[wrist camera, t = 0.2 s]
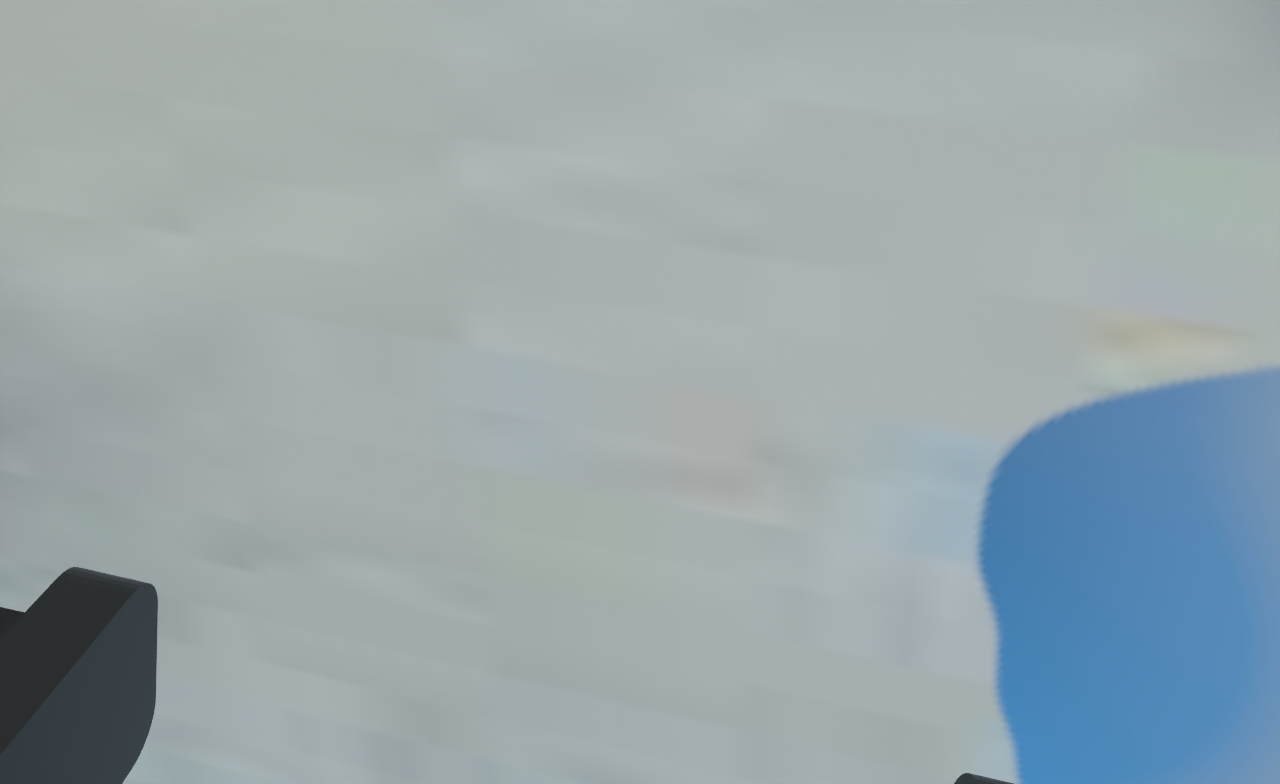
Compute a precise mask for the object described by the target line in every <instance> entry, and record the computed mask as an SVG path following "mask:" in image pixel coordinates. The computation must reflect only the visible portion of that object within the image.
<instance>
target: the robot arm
mask: <svg viewBox="0 0 1280 784" xmlns="http://www.w3.org/2000/svg"><path fill="white" fill-rule="evenodd" d="M157 612H158V599H157V592H156V590H155V587H154V586H153V585H151V584H149V583H145V582H140V581H136V580H132V579H127V578H123V577H118V576H114V575H110V574H105V573H101V572H96V571H92V570H88V569H83V568H79V567H73V568H70V569H68V570H66V571H65V572H63V573H62V574H61V575H60V576H59V577H58V578H57V579H56V580H55V581H54V582H53V583H52V584H51V585H50V586H49V587H48V589H47V590H46V591H45V592H44V593H43V594H42V595H41V596H40V597H39V598H38V599H37V600H36V601H35V602H34V603H33V604H32V606H31V607H30V608H29V609H28V610H27V611H26V612H25V613H24V612H20V611H15V610H11V609H6V608H2V607H0V784H122V783H123V781H124V780H125V778H126V777H127V775H128V774H129V772H130V771H131V769H132V767H133V766H134V764H135V762H136V761H137V759H138V757H139V755H140V753H141V751H142V748H143V746H144V744H145V741H146V739H147V736H148V733H149V730H150V726H151V723H152V719H153V715H154V709H155V700H156V659H157ZM954 784H1013V783H1009V782H1004V781H1000V780H996V779H991V778H987V777H983V776H978V775H974V774H969V773H965V774H962V775H961V776H960V777H959V778H958V779H957V780H956V782H955V783H954Z"/></svg>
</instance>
